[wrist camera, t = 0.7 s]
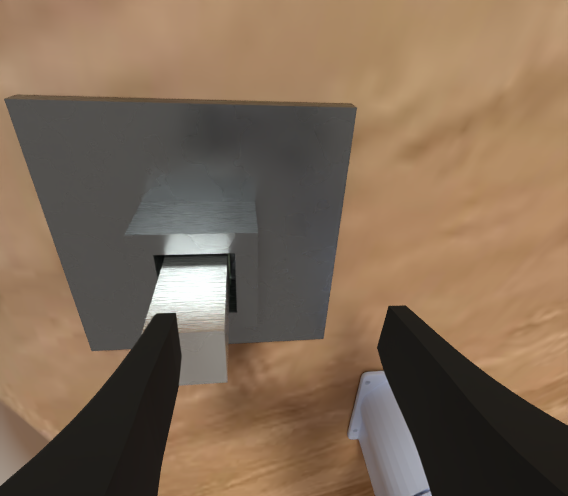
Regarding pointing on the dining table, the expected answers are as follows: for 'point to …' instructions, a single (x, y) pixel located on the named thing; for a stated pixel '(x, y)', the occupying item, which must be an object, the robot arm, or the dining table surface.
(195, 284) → the post
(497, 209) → the dining table surface
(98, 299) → the stand
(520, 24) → the dining table surface
